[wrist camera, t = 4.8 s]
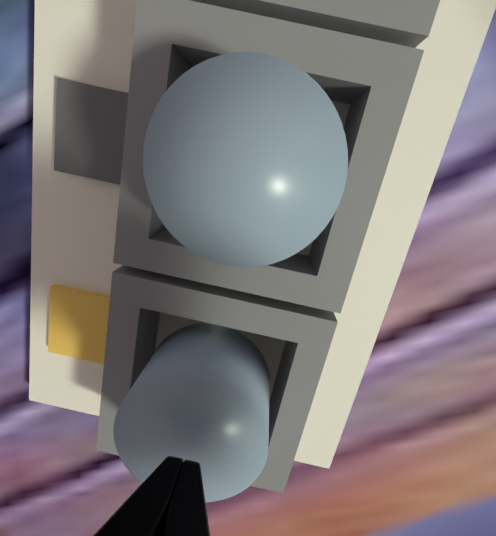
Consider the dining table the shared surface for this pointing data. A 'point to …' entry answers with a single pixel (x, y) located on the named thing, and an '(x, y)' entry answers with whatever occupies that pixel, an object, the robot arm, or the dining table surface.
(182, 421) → the button
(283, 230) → the button
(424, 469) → the dining table surface
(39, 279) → the board
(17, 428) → the dining table surface
